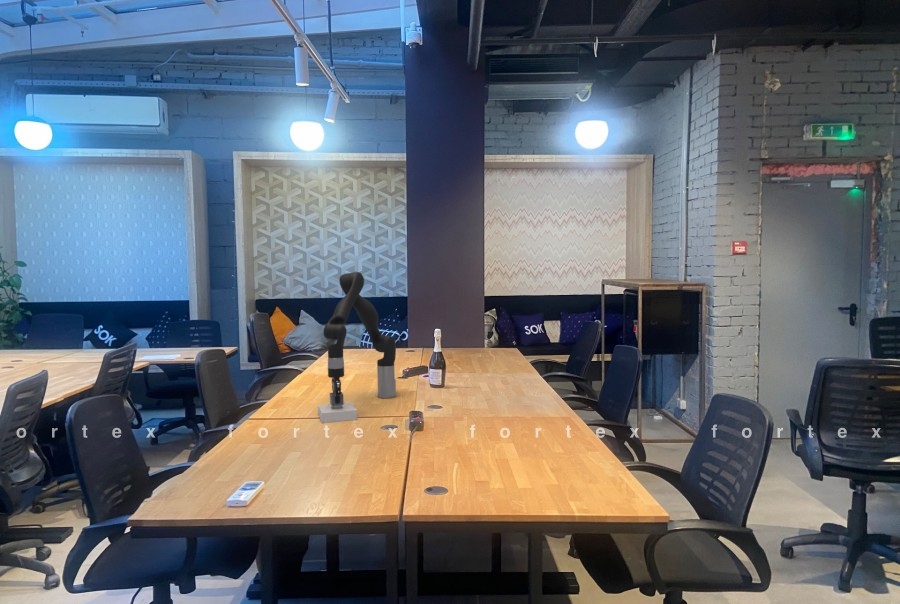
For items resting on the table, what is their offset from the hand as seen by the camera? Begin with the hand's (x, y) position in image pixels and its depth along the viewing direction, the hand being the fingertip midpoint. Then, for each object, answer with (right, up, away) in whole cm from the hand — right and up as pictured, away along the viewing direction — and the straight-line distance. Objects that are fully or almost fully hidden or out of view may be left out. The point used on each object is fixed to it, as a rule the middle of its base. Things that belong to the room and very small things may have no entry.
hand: (336, 401), depth 278 cm
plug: (0, -6, 0) cm, 6 cm away
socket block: (0, -7, +1) cm, 7 cm away
